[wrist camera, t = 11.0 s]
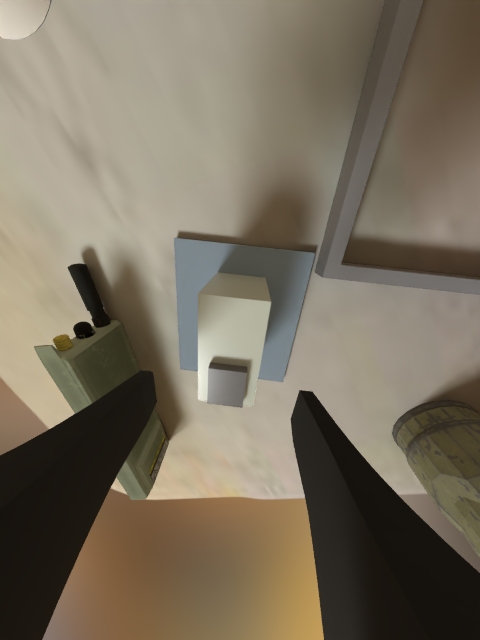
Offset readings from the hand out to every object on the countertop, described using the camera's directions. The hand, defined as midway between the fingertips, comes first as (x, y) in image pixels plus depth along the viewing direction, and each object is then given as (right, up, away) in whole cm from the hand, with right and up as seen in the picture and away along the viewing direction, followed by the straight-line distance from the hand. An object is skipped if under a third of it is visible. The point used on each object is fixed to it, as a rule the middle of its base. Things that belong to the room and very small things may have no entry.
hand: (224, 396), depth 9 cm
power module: (0, +4, +8) cm, 9 cm away
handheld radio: (-12, -2, +13) cm, 17 cm away
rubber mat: (0, +4, +9) cm, 9 cm away
